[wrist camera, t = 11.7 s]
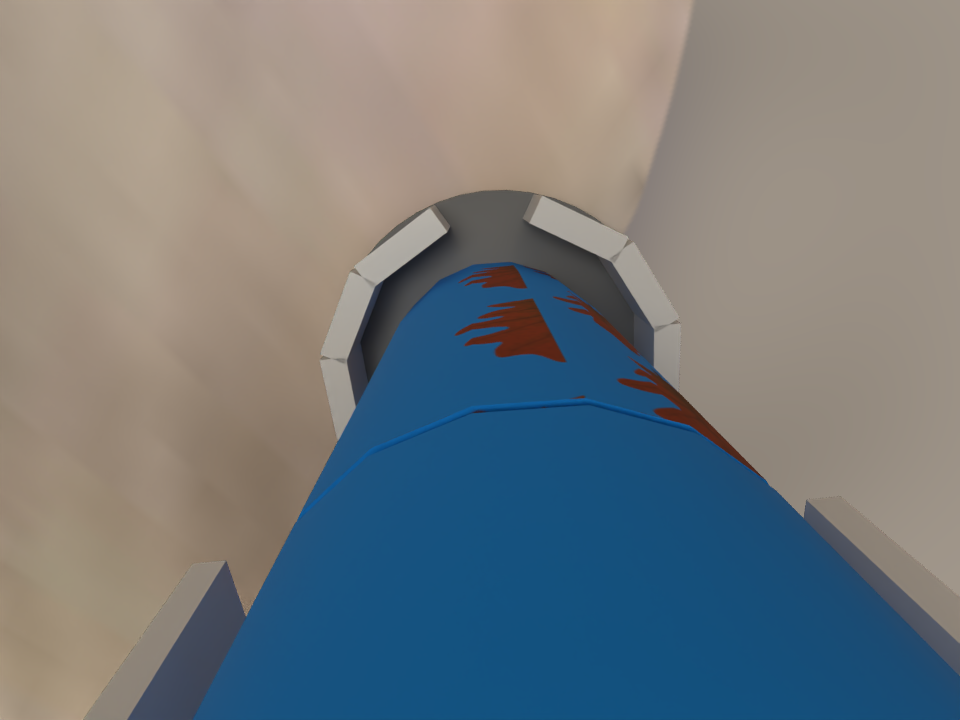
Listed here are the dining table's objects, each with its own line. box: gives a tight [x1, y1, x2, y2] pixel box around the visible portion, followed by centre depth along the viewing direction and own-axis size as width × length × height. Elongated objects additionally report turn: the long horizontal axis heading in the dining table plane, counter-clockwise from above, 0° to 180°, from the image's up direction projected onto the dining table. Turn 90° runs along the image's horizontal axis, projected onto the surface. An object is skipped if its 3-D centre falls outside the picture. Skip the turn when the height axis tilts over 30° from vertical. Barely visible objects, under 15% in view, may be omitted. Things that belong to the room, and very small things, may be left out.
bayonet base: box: [320, 190, 681, 440], centre depth 25 cm, size 17×17×4 cm
